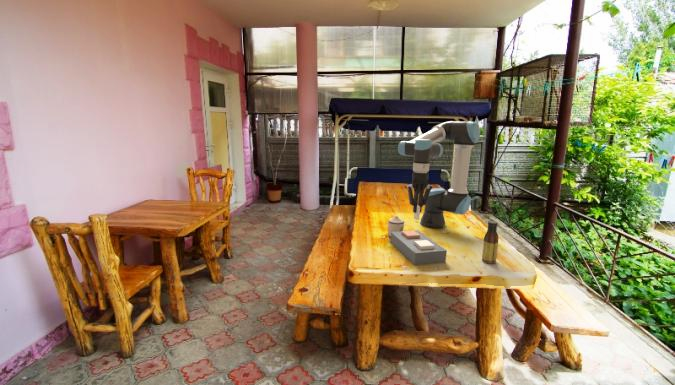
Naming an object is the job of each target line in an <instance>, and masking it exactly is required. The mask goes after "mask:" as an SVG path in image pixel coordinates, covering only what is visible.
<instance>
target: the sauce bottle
mask: <svg viewBox="0 0 675 385" xmlns="http://www.w3.org/2000/svg"><path fill="white" fill-rule="evenodd" d="M498 225H499V222H498V221H495V220H488V222H487V231H486V233H485V234H484V237H483V244H482V245H483V246H482V254H481V257H482V258H481V259H482V262H484V263H486V264H493V265H494V264H496V262H497V259H498V249H499V248H498V247H499V235H498V232H497V228H498Z"/></svg>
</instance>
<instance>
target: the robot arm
mask: <svg viewBox="0 0 675 385" xmlns="http://www.w3.org/2000/svg"><path fill="white" fill-rule="evenodd" d="M480 138H481V129H480V125H479V124H478V123H477V122H476V121H470V120H469V121H467V120H465V121H464V120H463V121H459V120H457V121H456V120H449V121H445V122H442V123H438V124H436V125H434V126H433V127H431V129H430V130H428V131H427V132H425V133H423V134H420V135H419V136H417V137H415V138H412V139H410V140H401V141H400V142H398V147H397V152H398V154H399V155H401V156H405V157H407V156H408V157H413V164H412V171H413V172H412V177H411V182H410V184H409V185H406V189H407V191H408V192H407V193H408V200H409V205H410V206H412V207H413V208H412V212H413V214H414V215H413V219H415V221H418V220H420V224H421V226H423V227H427V228H432V229H442V228H445V227H446V220H445V216H444V212H447V213H452V214H456V215H465V214H467V212H468V211H469V208H470V206H471V203H472V197H471V196H470V195H469V191H468V190H467V183H468V176H469V169H470V168H469V167H470V161H471V155H472V149H473V148H475V146H476V143H478V142H479V141H480ZM444 141H446V142H447V141H448V142H453V146H454V148H455V149H454V150H455V151H454V156H453V157H454V159H453V167H452V175H451V184H450V187H449V189H447V190H446V189H445V188H438V187H437V188H435V187H434V188H433V186H432V185H430V184H429V182H428V181H429V174H430V173H429V171H430V161H431V159H438V158H440V157H441V156H442V155H443V154H444V147H443V145H442V144H441V142H444ZM423 207H424V211H423V214H422V216H421V218H420V215H421V213H422V209H423Z"/></svg>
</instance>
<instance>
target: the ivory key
mask: <svg viewBox="0 0 675 385" xmlns="http://www.w3.org/2000/svg"><path fill="white" fill-rule="evenodd" d="M414 245H415V246H416V247H418V248H419V249H420V250H423V249H434V245H433V244H432V243H430V242H429V241H428V240H420V241H414Z"/></svg>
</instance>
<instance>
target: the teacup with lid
mask: <svg viewBox="0 0 675 385" xmlns="http://www.w3.org/2000/svg"><path fill="white" fill-rule="evenodd" d="M387 221H388V222H387V223H388V226H387V236H389V237H390V238H391V232H400V231H404V226H405V220H404V219H402V218H400V217H399V216H398V215H394V217H391V218H389V219H388V220H387Z"/></svg>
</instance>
